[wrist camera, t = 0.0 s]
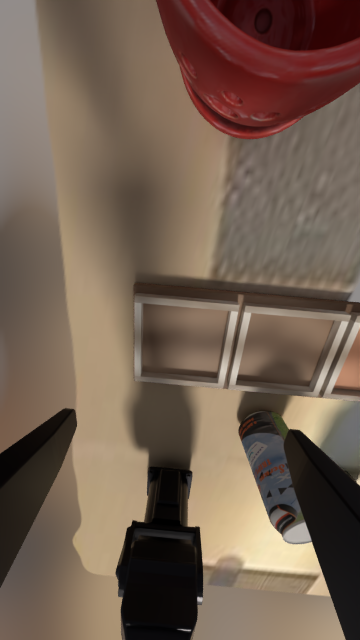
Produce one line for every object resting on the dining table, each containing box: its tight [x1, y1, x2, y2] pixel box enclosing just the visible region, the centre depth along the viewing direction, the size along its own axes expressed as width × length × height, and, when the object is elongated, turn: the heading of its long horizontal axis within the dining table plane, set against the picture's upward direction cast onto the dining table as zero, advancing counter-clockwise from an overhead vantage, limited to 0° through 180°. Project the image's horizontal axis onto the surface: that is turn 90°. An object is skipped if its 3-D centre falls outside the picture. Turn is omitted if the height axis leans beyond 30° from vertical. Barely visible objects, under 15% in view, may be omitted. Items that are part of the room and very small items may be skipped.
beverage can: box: [239, 411, 312, 544], centre depth 25 cm, size 6×7×12 cm
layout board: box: [134, 283, 360, 402], centre depth 25 cm, size 12×33×2 cm, turn 85°
